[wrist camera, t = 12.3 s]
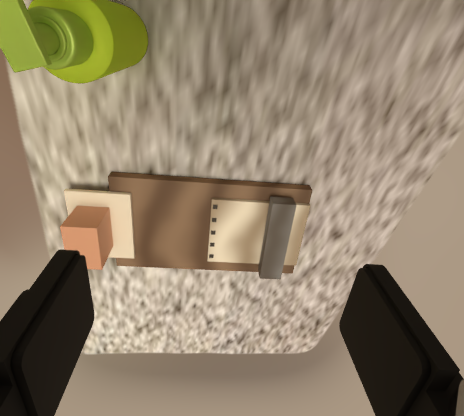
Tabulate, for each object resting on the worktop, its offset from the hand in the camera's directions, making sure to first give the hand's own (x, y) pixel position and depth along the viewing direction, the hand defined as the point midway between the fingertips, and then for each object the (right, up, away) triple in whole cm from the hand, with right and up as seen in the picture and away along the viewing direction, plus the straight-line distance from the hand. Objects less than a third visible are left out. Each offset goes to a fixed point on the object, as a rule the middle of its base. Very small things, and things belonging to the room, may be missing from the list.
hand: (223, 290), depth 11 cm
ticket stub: (-17, +1, +32) cm, 36 cm away
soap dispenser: (-12, +21, +23) cm, 33 cm away
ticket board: (-3, +1, +34) cm, 34 cm away
